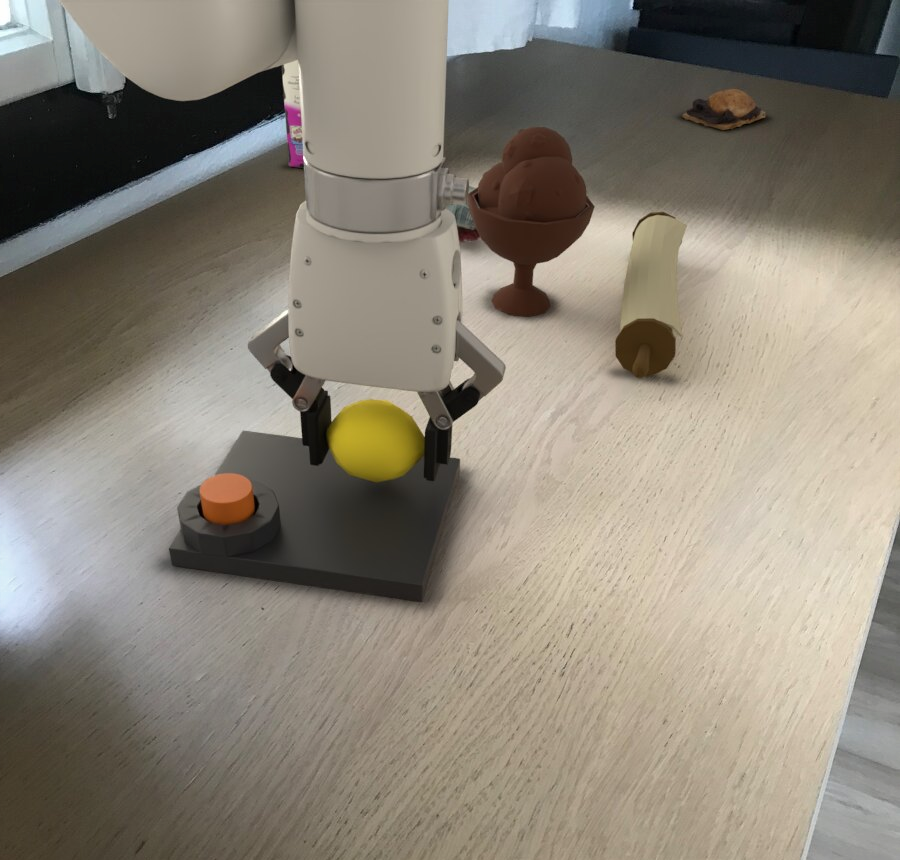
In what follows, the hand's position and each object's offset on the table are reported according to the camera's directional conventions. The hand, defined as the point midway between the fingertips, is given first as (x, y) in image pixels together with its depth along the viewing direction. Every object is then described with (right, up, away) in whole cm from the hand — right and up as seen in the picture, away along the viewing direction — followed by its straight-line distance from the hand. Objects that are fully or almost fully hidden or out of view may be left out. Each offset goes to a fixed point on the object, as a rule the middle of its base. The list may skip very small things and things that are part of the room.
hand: (376, 460), depth 66 cm
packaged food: (+4, +29, +38) cm, 48 cm away
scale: (-4, -4, 0) cm, 5 cm away
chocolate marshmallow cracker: (+44, +59, +73) cm, 104 cm away
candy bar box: (-9, +43, +52) cm, 68 cm away
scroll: (+23, +17, +25) cm, 39 cm away
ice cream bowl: (+11, +18, +26) cm, 34 cm away
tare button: (-9, -4, -4) cm, 11 cm away
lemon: (0, -1, +1) cm, 1 cm away
